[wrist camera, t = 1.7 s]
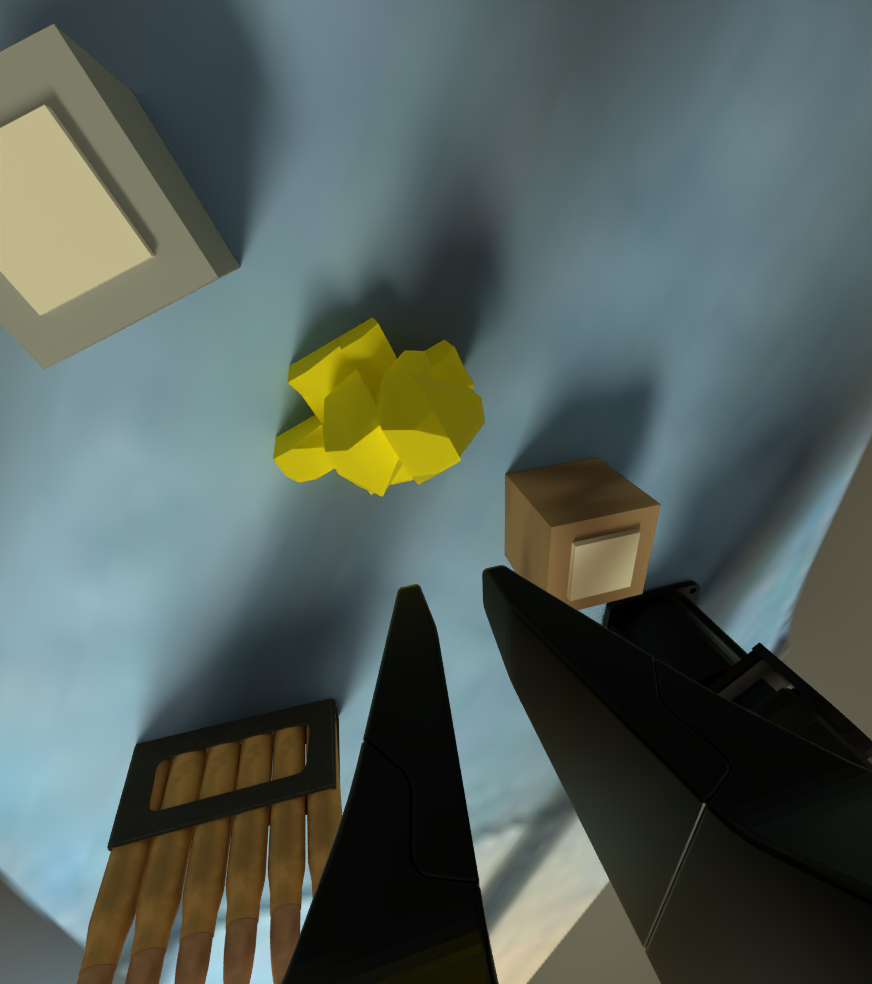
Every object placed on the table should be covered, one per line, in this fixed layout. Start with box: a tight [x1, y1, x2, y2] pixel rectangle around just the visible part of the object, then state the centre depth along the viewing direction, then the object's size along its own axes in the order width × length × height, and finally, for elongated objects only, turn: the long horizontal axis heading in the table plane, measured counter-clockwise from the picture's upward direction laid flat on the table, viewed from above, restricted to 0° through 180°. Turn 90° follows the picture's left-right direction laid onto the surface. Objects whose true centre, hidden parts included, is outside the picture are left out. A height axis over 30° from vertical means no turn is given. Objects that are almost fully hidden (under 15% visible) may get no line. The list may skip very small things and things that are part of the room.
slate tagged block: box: [0, 24, 240, 370], centre depth 12 cm, size 5×5×5 cm
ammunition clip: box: [77, 698, 342, 984], centre depth 21 cm, size 11×2×12 cm, turn 91°
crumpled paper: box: [273, 317, 485, 497], centre depth 16 cm, size 6×8×8 cm
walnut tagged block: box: [505, 457, 661, 610], centre depth 22 cm, size 5×5×5 cm
